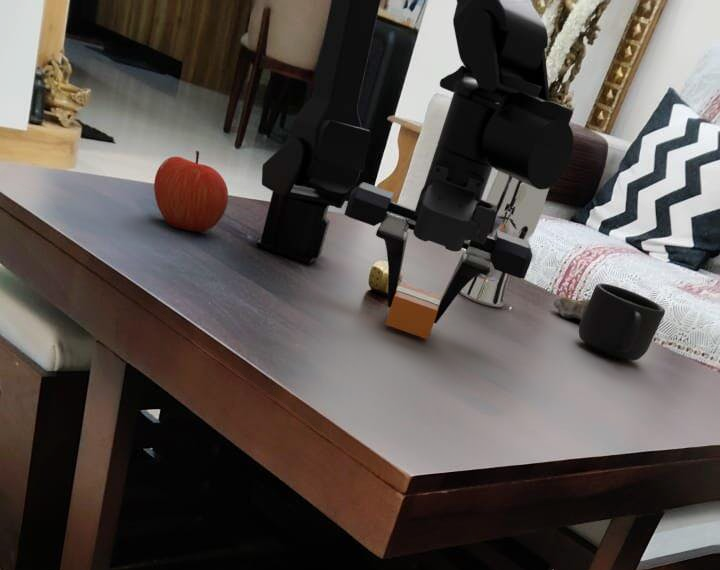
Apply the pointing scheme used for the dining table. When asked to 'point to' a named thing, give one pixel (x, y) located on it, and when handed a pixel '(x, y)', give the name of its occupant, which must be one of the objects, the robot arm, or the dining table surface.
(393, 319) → the small cardboard box
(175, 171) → the apple
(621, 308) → the mug
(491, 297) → the silver metal vase
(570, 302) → the rock
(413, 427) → the dining table surface
